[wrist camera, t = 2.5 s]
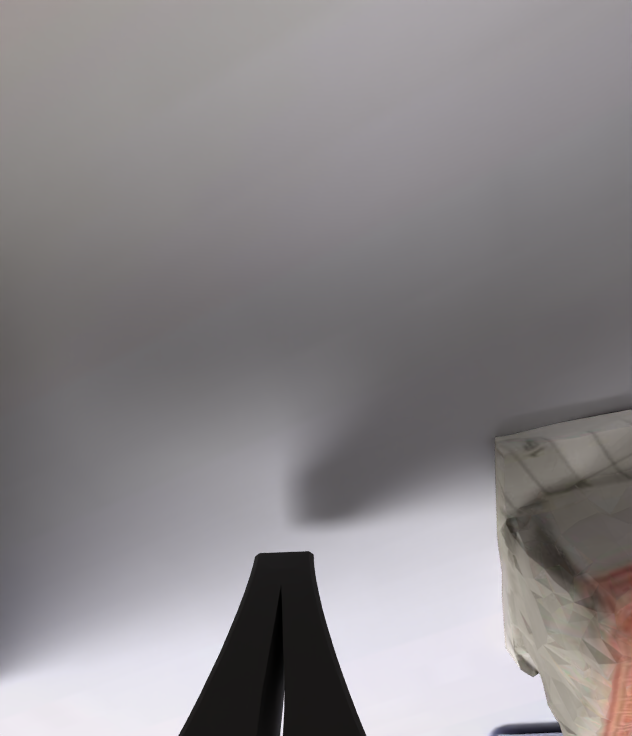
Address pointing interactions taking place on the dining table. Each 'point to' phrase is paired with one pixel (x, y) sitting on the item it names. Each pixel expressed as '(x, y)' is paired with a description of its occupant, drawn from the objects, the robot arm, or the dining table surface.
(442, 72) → the dining table surface
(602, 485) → the packaged product
